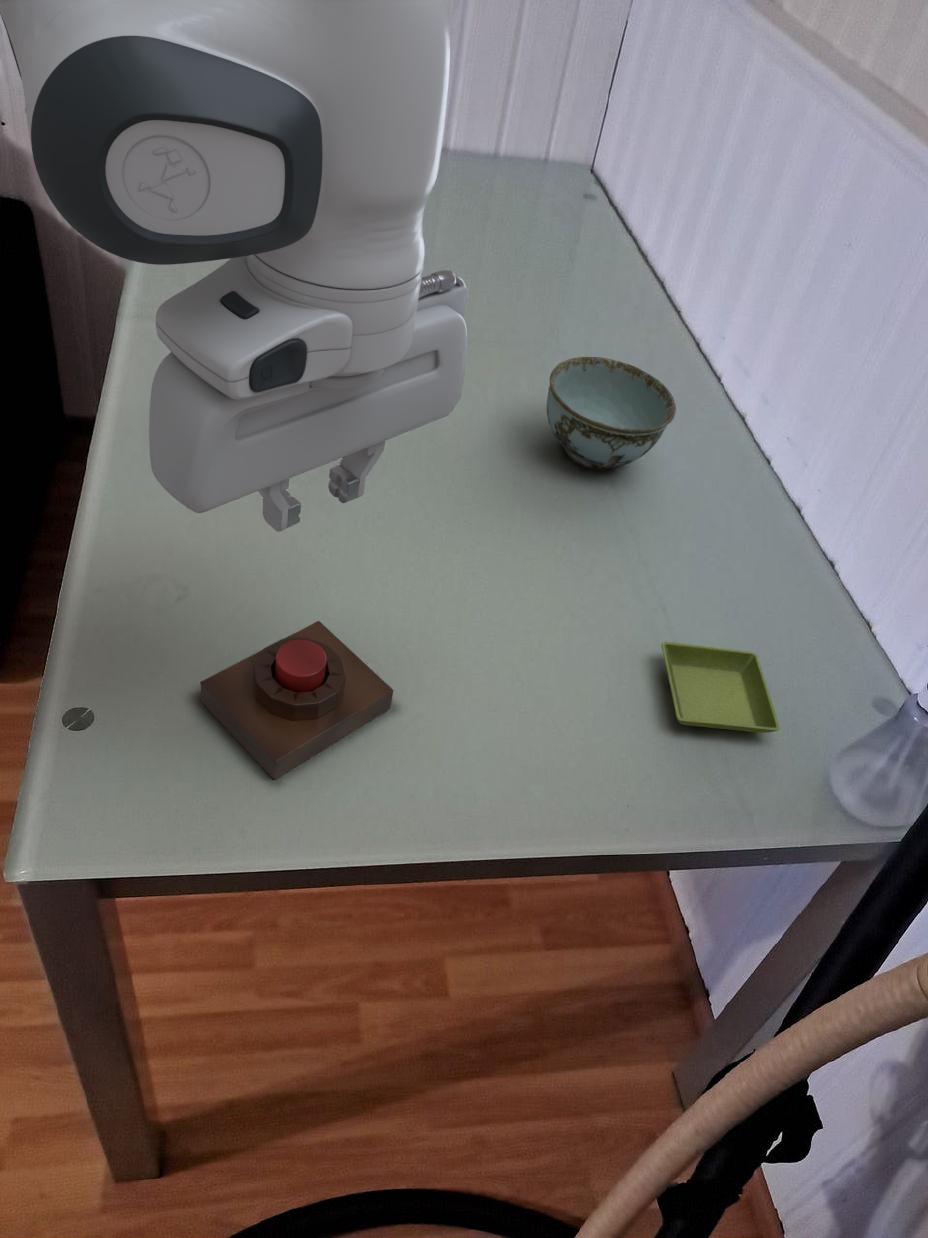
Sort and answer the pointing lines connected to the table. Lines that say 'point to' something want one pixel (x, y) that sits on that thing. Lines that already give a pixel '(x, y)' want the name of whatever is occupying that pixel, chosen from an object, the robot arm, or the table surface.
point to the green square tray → (718, 688)
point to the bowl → (606, 411)
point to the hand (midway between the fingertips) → (313, 508)
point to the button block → (295, 702)
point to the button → (300, 665)
